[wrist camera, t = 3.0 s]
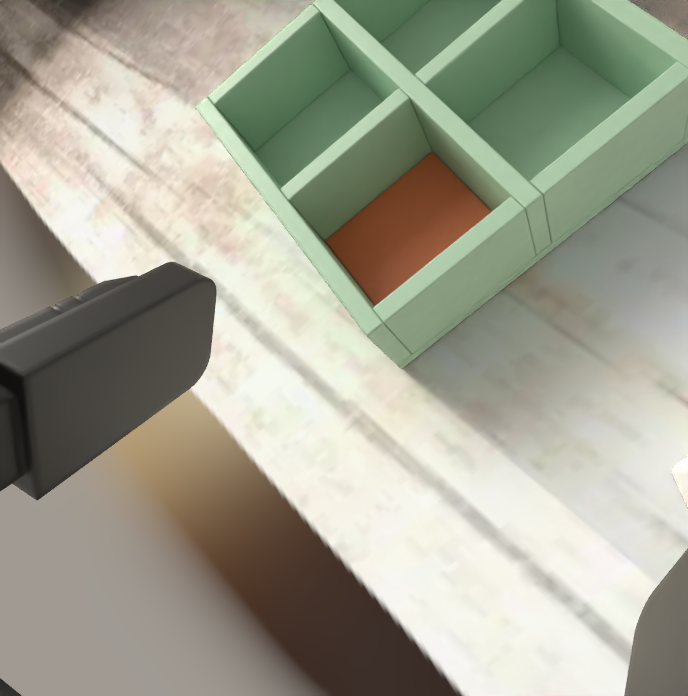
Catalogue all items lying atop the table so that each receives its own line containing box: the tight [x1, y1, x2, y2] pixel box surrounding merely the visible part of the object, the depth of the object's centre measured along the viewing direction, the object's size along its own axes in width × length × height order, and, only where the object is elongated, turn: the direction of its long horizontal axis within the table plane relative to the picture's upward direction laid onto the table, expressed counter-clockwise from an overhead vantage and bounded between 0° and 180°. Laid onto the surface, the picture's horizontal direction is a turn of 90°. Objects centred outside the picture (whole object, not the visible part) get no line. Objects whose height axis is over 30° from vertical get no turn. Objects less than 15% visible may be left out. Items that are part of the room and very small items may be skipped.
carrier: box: [196, 0, 688, 369], centre depth 29 cm, size 15×15×5 cm
